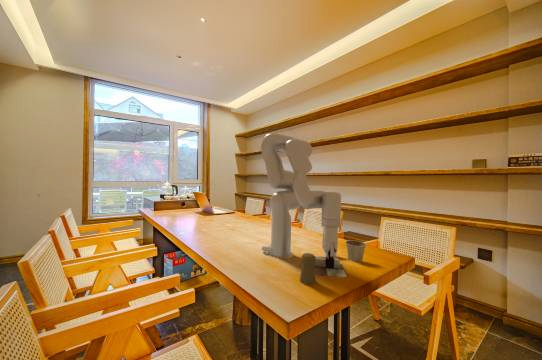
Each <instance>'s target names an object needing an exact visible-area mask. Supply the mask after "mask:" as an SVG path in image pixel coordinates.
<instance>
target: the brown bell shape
mask: <svg viewBox="0 0 542 360" xmlns="http://www.w3.org/2000/svg"><path fill="white" fill-rule="evenodd" d="M300 260H301V263H302V265H301V271H300V275H299V282H300V283H301V284H303V285H305V286H307V285H308V286H312V285H315V284H316V282H317V281H316V275H315V270H314V263H315V261H316V258H315V254H313V253H309V252H305V253H303V254H301V257H300Z"/></svg>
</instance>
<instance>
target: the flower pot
mask: <svg viewBox="0 0 542 360" xmlns="http://www.w3.org/2000/svg"><path fill="white" fill-rule="evenodd" d="M344 242H345V243H344V244H345V246H346V250H347V252H346V253H347V260H348V261H352V262H358V263H363V258H364V254H365V253H364V252H365V249H366V247H367V243H365V242H363V241H360V240H352V239H350V240H345V241H344Z"/></svg>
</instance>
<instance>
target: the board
mask: <svg viewBox="0 0 542 360" xmlns="http://www.w3.org/2000/svg"><path fill="white" fill-rule="evenodd" d="M314 256H315V255H314ZM315 257H317V258H326V256H317V255H316V256H315ZM334 259H339V258H338V257H334ZM314 270H315V276H322V277H323V276H325V277H336V278H349V276H348V274H347V272H346V269H345V268H344V266H343V263H340V268H334V269H329V268H326V267H316V266H314Z"/></svg>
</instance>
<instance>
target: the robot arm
mask: <svg viewBox="0 0 542 360" xmlns="http://www.w3.org/2000/svg"><path fill="white" fill-rule="evenodd" d="M260 151H261V156H262V158H263V161H264V164H265V165H264V166H265V169H266V170H265V171H266V174H267V180H268V184H269V186H270V187H271V188H272V189H275V190H279V191H276V192H274V193H273V194H272V195H271V196H270V199H269V203H270V212H271V237H270V239H271V241H270V246H269V245H268V246H261V250H262V251H263V252H267V255H268V256H269V257H271V258H274V259H289V258H292V257H294V253H293V252H292V251H291V250H292V249H291V247H292V246H291V245H292V244H291V242H292V217H291V214H290V211H293V210H297V209H299V208H300V207H302V209H306V210H313V209H320V208H321V224H320V225H321V227H323V229H322V240H321V241H322V243H321V244H322V245H321V247H322V249H323V253H324V252H325V253H326V255H325V257H326V268H329V269H334V258H335V256H334V252H335V253H336V254H337V253H338V247H339V246H338V245H339V241H338V238H339V230H338V228H339V229H340V228H341V225H342V223H341V218H342V217H341V215H342V212H341V211H342V194H341V193H340V192H337V191H324V190H310V186H309V185H308V181H307V175H308V174H309V173H310V172H311V171H312V169H313V165H312V163H311V160H310V157H311V155H312V153H313V147H312V145H311V144H310V143H309V142H308V141H307V140H303V139H299V138H297V137H294V136H290V135H285V134H281V133H275V132H273V133H271V132H270V133H267V134H266V135H265V136H264V137H263V138H262V140H261V145H260ZM278 152H280V153H281V152H282V153H286V156H287V158H288V161H289V163H290V166H291V168H292V171H291V170H286V169H285V167H284V165H283V160H282V159H281V157H280V155H279V154H278Z"/></svg>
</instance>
